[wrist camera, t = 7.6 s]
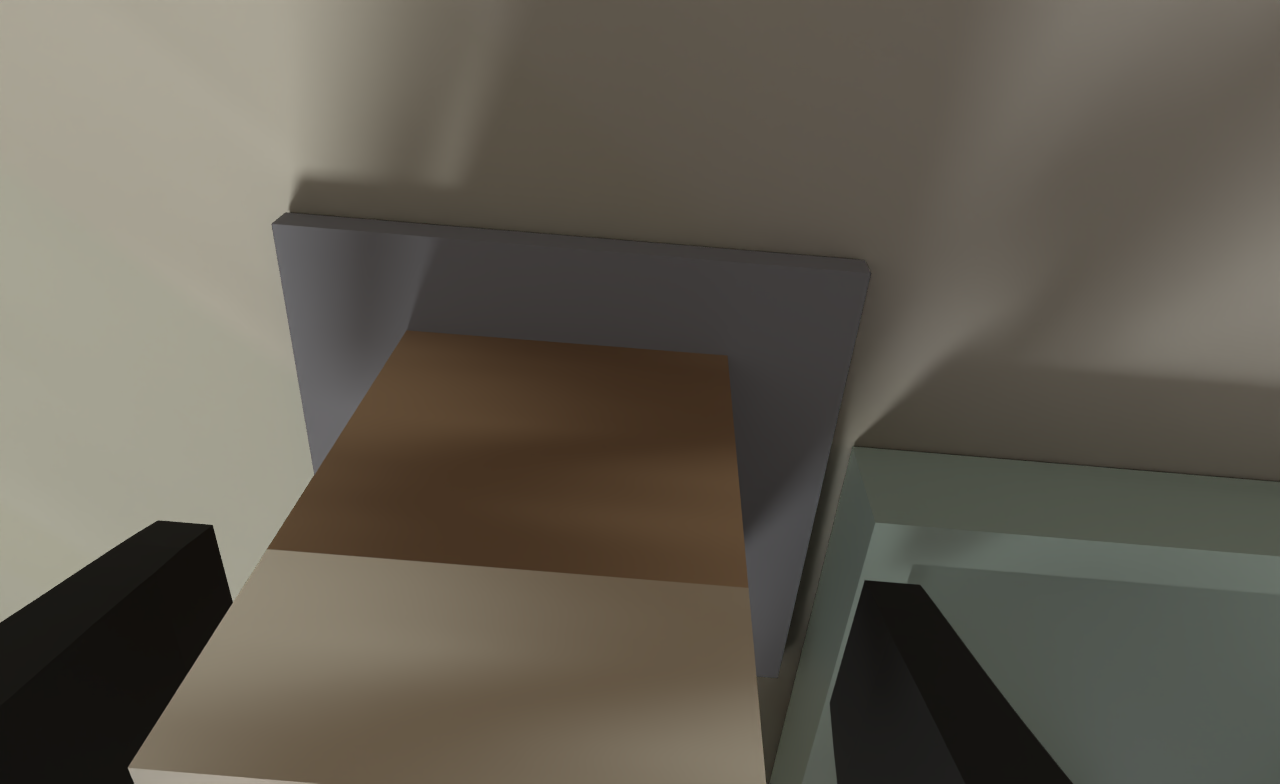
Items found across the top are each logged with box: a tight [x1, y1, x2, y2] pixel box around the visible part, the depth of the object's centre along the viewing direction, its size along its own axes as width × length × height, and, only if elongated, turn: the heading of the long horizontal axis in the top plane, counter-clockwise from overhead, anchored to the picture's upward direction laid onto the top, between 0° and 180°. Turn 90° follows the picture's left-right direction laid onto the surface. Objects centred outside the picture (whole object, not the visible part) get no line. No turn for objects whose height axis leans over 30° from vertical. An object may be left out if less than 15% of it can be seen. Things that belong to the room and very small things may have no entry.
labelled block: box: [128, 330, 766, 784], centre depth 9 cm, size 4×4×6 cm
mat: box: [272, 213, 871, 678], centre depth 12 cm, size 7×7×1 cm
